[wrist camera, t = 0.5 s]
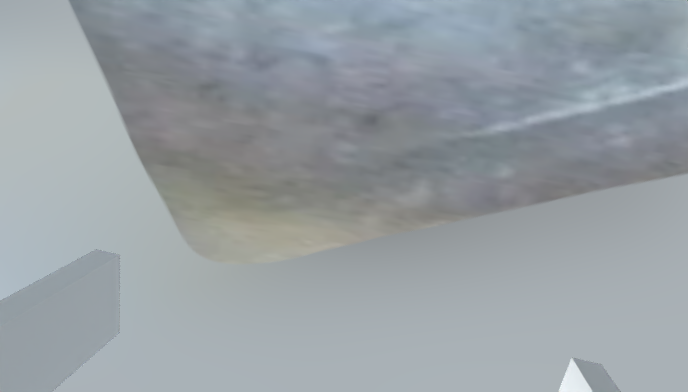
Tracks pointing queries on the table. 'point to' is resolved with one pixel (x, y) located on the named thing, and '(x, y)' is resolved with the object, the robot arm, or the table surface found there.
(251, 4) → the table surface
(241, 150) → the table surface
